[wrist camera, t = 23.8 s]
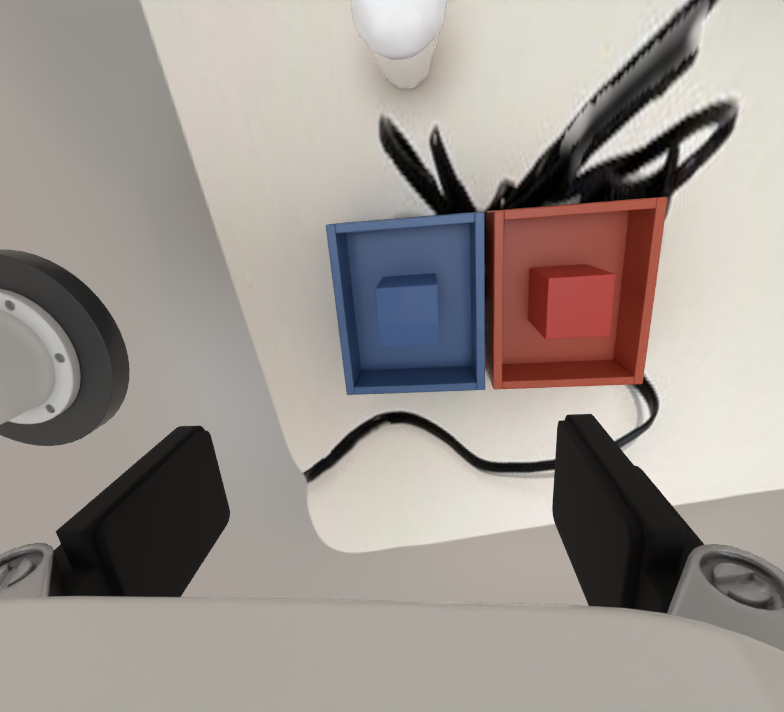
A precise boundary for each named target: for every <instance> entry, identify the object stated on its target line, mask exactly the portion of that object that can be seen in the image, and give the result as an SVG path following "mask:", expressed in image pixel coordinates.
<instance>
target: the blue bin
mask: <svg viewBox="0 0 784 712" xmlns="http://www.w3.org/2000/svg"><path fill="white" fill-rule="evenodd" d="M326 231H327V238H328V246H329V254H330V262H331V270H332V278H333V286H334V294H335V302H336V310H337V318H338V326H339V334H340V342H341V350H342V358H343V366H344V374H345V382H346V390H347V395H354V394H383V393H410V392H437V391H465V390H485V218H484V212H471V213H459V214H446V215H434V216H422V217H410V218H397V219H385V220H373V221H361V222H348V223H337V224H329V225H326ZM434 273H435V274H436V278H437V288H438V312H439V336H440V344H436V345H415V346H395V347H380V338H379V327H378V316H377V306H376V295H375V288H376V287H377V285H378V284H379V282H380V281H381V279H382V278H383V277H389V276H404V275H419V274H434Z"/></svg>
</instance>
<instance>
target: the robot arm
mask: <svg viewBox="0 0 784 712" xmlns="http://www.w3.org/2000/svg"><path fill="white" fill-rule="evenodd" d="M80 379H81V374H80V365H79V361H78V358H77V354H76V351H75V349H74V347H73V345H72V343H71V341H70V339H69V337H68V336H67V334H66V333H65V331H64V330H63V329H62V327H61V326H60V325H59V324H58V323H57V321H56V320H55V319H54V318H53V317H52V316H51V315H50V314H49V313H48V312H46V311H45V310H44V309H43V308H41V307H40V306H39V305H38V304H36V303H34V302H33V301H31V300H29V299H28V298H26V297H24V296H22V295H19V294H17V293H15V292H12V291H9V290H4V289H0V425H1V424H3V423H5V422H7V421H9V422H14V423H18V424H36V423H42V422H45V421H48V420H50V419H53V418H54V417H56V416H58V415H60V414H61V413H63V412H64V411H65V410H67V409H68V408H69V407H70V406H71V405H72V403H73V402H74V400H75V399H76V397H77V394H78V391H79V388H80ZM229 517H230V510H229V505H228V501H227V498H226V494H225V490H224V486H223V482H222V478H221V474H220V470H219V466H218V462H217V459H216V454H215V451H214V447H213V443H212V439H211V435H210V433H209V432H208V431H205V430H204V428H203V427H201V426H181V427H178V428H176V429H175V430H174V431H172V432H171V433H170V434H169V435H168V436H167V437H165V438H164V439H163V440H162V441H161V442H160V443H158V444H157V445H156V446H155V447H154V448H153V449H152V450H150V451H149V452H148V453H147V454H146V455H144V456H143V457H142V458H141V459H140V460H139V461H137V462H136V463H135V464H134V465H133V466H132V467H130V468H129V469H128V470H127V471H126V472H125V473H123V474H122V475H121V476H120V477H119V478H118V479H117V480H115V481H114V482H113V483H112V484H111V485H109V487H107V488H106V489H105V490H104V491H102V492H101V493H100V494H99V495H98V496H97V497H95V499H93V500H92V501H91V502H90V503H88V504H87V505H86V506H85V507H84V508H83V509H81V510H80V511H79V512H78V513H77V514H76V515H74V516H73V517H72V518H71V519H70V520H69V521H67V522H66V523H65V524H64V525H63V526H62V527H60V528H59V529H58V530H57V531H56V533H57V536H58V537H59V540H60V542H61V545H60V546H59V547H57V548H56V549H55V550H53V548H52V547H51V546H50V545H48V544H45V543H34V544H28V545H24V546H21V547H18V548H14V549H12V550H9V551H7V552H5V553H3V554H0V712H784V572H783V571H782V570H781V569H779V568H777V567H776V566H774V565H773V564H771V563H770V562H768V561H767V560H765V559H763V558H761V557H759V556H756V555H754V554H752V553H750V552H748V551H745V550H741V549H738V548H735V547H732V546H726V545H719V544H712V545H704V544H703V542H702V541H701V540H700V539H699V538H698V536H697V535H696V534H695V533H694V532H693V530H692V529H691V528H690V527H689V526H688V525H687V523H686V522H685V521H684V520H683V518H682V517H681V516H680V515H679V514H678V512H677V511H676V510H675V509H674V508H673V506H672V505H671V504H670V503H669V502H668V500H667V499H666V498H665V497H664V496H663V494H662V493H661V492H660V491H659V490H658V488H657V487H656V486H655V485H654V484H653V482H652V481H651V480H650V479H649V478H648V476H647V475H646V474H645V473H644V472H643V470H641V469H640V468H639V467H638V466H634V465H633V464H632V463H631V461H630V460H629V459H628V458H627V456H626V455H625V454H624V453H623V452H622V450H621V449H620V448H619V447H618V445H617V444H616V443H615V442H614V441H613V439H612V438H611V437H610V436H609V434H608V433H607V432H606V431H605V429H604V428H603V427H602V426H601V425H600V423H599V422H598V421H597V420H596V418H595V417H594V416H593V415H592V414H577V415H567V416H566V418H565V421H559V422H558V427H557V443H556V459H555V475H554V491H553V518H554V522H555V524H556V527H557V529H558V532H559V534H560V537H561V539H562V542H563V544H564V546H565V549H566V551H567V554H568V556H569V559H570V561H571V563H572V566H573V568H574V571H575V573H576V576H577V578H578V581H579V583H580V585H581V588H582V590H583V593H584V595H585V597H586V600H587V602H588V605H589V606H579V605H562V604H526V603H525V604H524V603H482V602H481V603H480V602H479V603H478V602H438V601H437V602H436V601H395V600H344V599H341V600H340V599H284V598H283V599H282V598H210V597H181V595H182V594H183V592H184V591H185V589H186V587H187V586H188V584H189V583H190V581H191V580H192V578H193V577H194V575H195V573H196V572H197V570H198V569H199V567H200V565H201V564H202V563H203V561H204V559H205V558H206V556H207V555H208V553H209V552H210V550H211V549H212V547H213V546H214V544H215V542H216V541H217V539H218V538H219V536H220V535H221V533H222V531H223V530H224V528H225V527H226V525H227V523H228V521H229Z"/></svg>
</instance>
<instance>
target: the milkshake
mask: <svg viewBox="0 0 784 712" xmlns="http://www.w3.org/2000/svg"><path fill="white" fill-rule="evenodd" d="M447 2H448V0H351V11H352V17H353V21H354V25H355V27H356V29H357V31H358V33H359V35H360V37H361V38H362V40H363V41H364V43H365V44H366V46H367V47H368V48H369V50H370V51H371V53H372V54H373V56H374V58H375V60H376V61H377V63H378V65H379V67H380V68H381V70H382V72H383V73H384V75H385V77H386V79H387V80H389V81H390V82H391V83H393V84H394V85H395V86H397V87H398V88H399V89H406V88H415V87H417V86H418V85H419V84H420V83H421V82H422V81H423V80H424V79H425V78H426V77H427V76H428V72H429V69H430V65H431V61H432V58H433V53H434V49H435V45H436V42H437V39H438V36H439V33H440V30H441V27H442V24H443V21H444V17H445V13H446V9H447Z"/></svg>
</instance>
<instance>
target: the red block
mask: <svg viewBox="0 0 784 712" xmlns="http://www.w3.org/2000/svg"><path fill="white" fill-rule="evenodd" d="M615 280H616V274H615V273H612V272H609V271H606V270H602V269H599V268H596V267H593V266H590V265H587V264H578V265H563V266H548V267H533V268H530V269H529V299H528V321H529V322H530V323H531V324H532V325H533V326H534V327H535V329H536V330H537V331H538V332H539V333H540V334H541V335H542V336H543V337H544V338H545V339H546V340H547V339H568V338H588V337H608V336H610V329H611V319H612V309H613V299H614V289H615Z"/></svg>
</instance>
